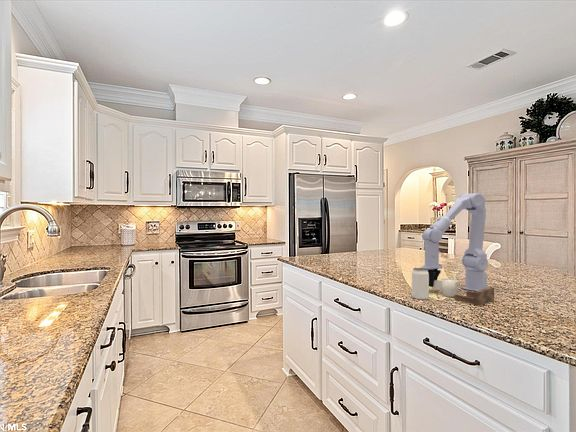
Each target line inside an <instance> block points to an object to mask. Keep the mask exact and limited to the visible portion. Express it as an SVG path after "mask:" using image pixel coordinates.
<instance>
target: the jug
mask: <svg viewBox="0 0 576 432" xmlns="http://www.w3.org/2000/svg"><path fill="white" fill-rule="evenodd" d="M458 285H460V280H457V279H455V278H441V280H439V279H437V280H434V285H433V287H431V289H432V290H437V291H441V295H442V296H443V297H450V298H455V295H456V294H457V295H458Z"/></svg>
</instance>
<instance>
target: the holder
mask: <svg viewBox="0 0 576 432" xmlns="http://www.w3.org/2000/svg"><path fill="white" fill-rule="evenodd" d="M465 294H466V295H462V294H458V293H457V294H456V295H455V297H454V301H458V302H462V303H463V302H464V303H468V304H472V305H473V306H476V307H478V306H481V305H485V304H487V303H490V302H493V301H495V287H492V286H489V287H487V288H485V289H482V290H479V291H471V290H467V291H466V293H465Z"/></svg>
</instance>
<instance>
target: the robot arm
mask: <svg viewBox="0 0 576 432" xmlns="http://www.w3.org/2000/svg"><path fill="white" fill-rule="evenodd" d="M463 210H466V211H468V212H469V213H470V214H471V222H470V229H469V230H470V231H469V240H468V241H469V242H468V248H467V249H465V251H464V253H463V254H464V255H463V256H462V259H461V264H462V265H463V267H464V269H465V286H462V287H461V289H463V290H467V291H472V292H475V291H479V290H482V289H485V288H488V284H487V282H488V274H487V272H486V269H487V268H488V266H489V261H488V258H487V257H488V254H487V253H486V252H485V251H484V250H483V247H484V238H485V237H484V236H485V229H486V228H485V226H486V216H487V209H486V198H485V196H484V195H483V194H482V193H479V192H474V193H473V192H472V193H461V194H459V195H458V197H457V198H455V202H454V203H453V204H452V205H451V207H450V208H449V210H448V211H447V212H446V213H445V214H444V215H443V216H439V217H437V218H436V220H435V222H434V223H433V224H432V225H430V226H429V228H426V229H425V230H424V231H423V233H422V235H421V237H422V240H423V243H424V265H422V266H420V267H419V268H425V269H428V270H427V271H428V273H429V287H431V288H432V287H433V285H434V280H438V278H439V277H440V274H441V270H442V269H443V264H442V263H440V259H439V258H440V257H439V256H440V253H439V252H440V244H439V242H440V241H441V240H442V238H443V234H444V233H445V232H446V231H447V230H448V228H450V226H452V220H454V219H455V217H457V215H458V214H460V213H461V212H462V211H463ZM440 269H441V270H440Z"/></svg>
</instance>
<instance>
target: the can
mask: <svg viewBox="0 0 576 432" xmlns="http://www.w3.org/2000/svg"><path fill="white" fill-rule="evenodd" d="M427 270H428V269H425V268H420V267H414V268H412V271H411V297H412V298H413V299H415V300H420V301H426V300H428V299H429V297H430V295H429V294H430V293H429V289H430V288H429V287H430V286H429V273H428V271H427Z"/></svg>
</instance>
